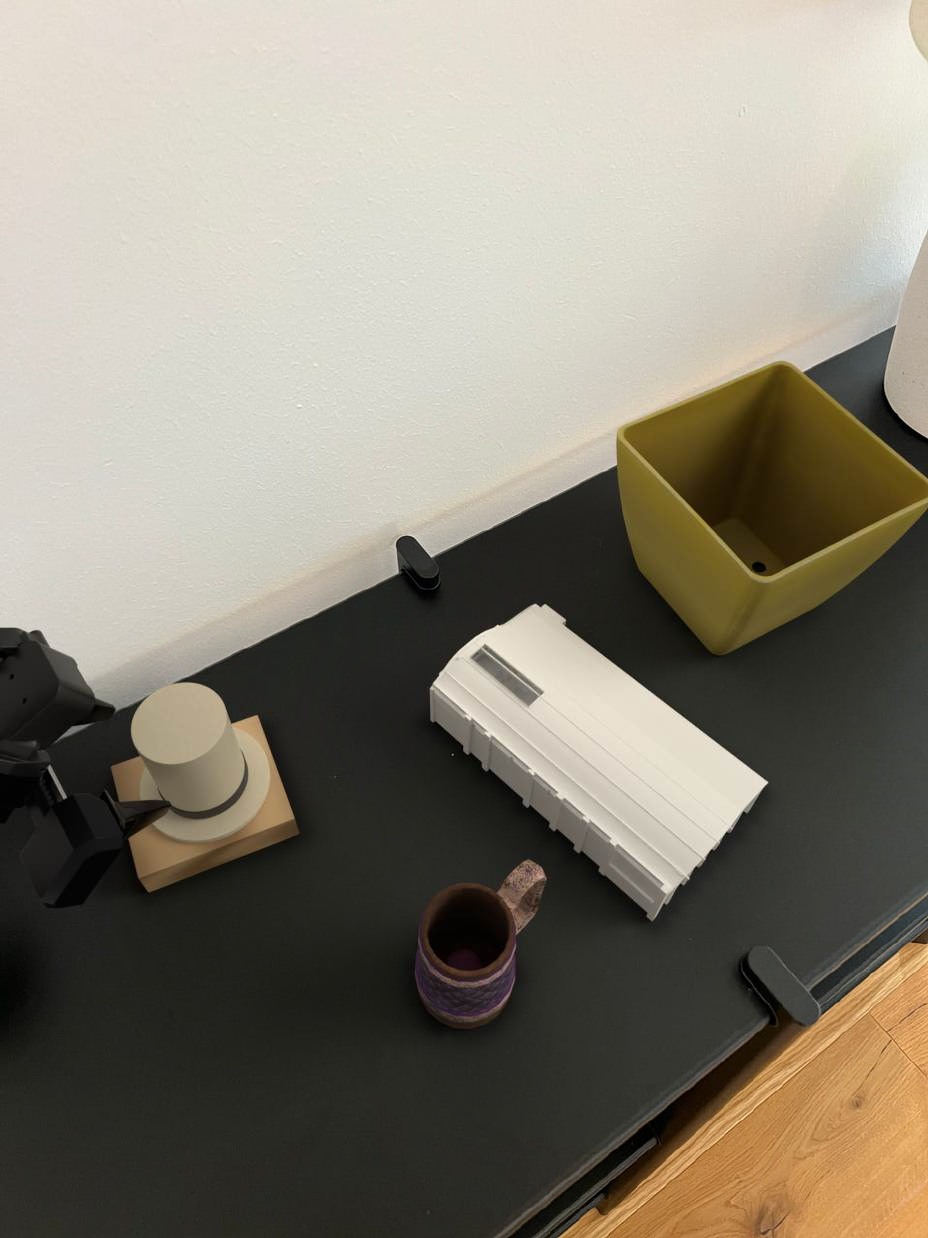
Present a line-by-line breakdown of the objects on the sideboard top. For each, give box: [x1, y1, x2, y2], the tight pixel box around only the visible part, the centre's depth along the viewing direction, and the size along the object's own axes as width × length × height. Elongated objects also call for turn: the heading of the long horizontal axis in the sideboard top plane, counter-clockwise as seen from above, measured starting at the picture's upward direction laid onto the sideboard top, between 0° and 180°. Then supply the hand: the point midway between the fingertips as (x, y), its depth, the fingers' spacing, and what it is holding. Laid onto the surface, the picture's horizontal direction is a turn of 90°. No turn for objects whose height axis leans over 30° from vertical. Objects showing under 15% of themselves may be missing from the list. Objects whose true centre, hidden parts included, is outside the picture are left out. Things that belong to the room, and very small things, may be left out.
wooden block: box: [110, 714, 300, 893], centre depth 75 cm, size 12×10×3 cm
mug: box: [414, 858, 548, 1030], centre depth 65 cm, size 10×7×12 cm
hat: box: [130, 682, 271, 843], centre depth 71 cm, size 10×10×10 cm
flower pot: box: [615, 360, 928, 656], centre depth 84 cm, size 19×19×17 cm
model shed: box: [429, 603, 769, 922], centre depth 77 cm, size 25×15×7 cm, turn 45°
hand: (139, 758), depth 67 cm, fingers open, 9 cm apart
